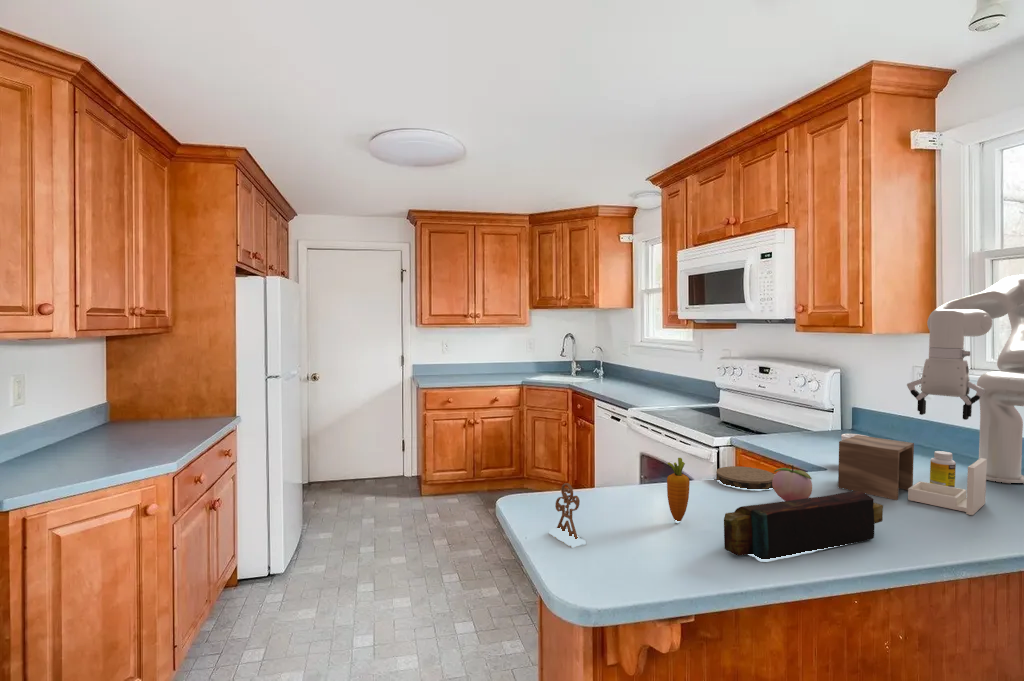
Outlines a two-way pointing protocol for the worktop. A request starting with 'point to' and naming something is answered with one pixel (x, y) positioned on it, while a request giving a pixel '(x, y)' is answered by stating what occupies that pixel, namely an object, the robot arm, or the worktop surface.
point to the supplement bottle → (942, 469)
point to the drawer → (955, 491)
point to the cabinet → (875, 465)
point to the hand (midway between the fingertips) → (943, 416)
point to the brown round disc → (745, 477)
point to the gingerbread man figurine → (567, 513)
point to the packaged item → (801, 525)
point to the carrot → (678, 490)
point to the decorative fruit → (792, 484)
